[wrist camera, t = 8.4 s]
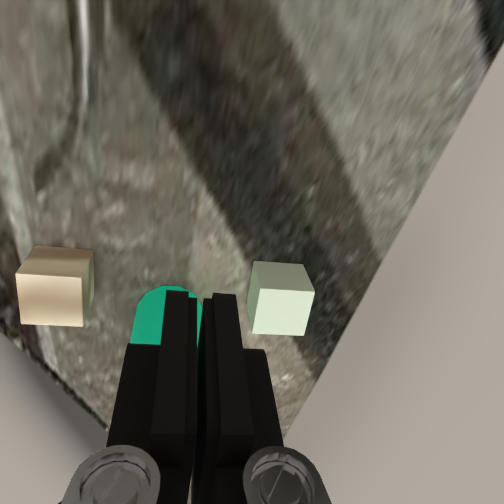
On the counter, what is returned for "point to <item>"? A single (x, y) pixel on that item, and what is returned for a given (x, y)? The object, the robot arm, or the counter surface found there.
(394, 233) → the counter surface
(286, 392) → the counter surface
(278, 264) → the sage block
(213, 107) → the counter surface
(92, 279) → the birch block
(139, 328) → the candle
